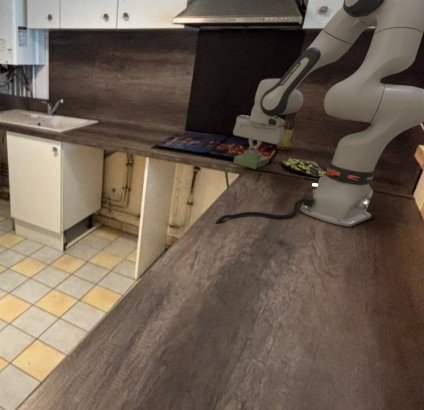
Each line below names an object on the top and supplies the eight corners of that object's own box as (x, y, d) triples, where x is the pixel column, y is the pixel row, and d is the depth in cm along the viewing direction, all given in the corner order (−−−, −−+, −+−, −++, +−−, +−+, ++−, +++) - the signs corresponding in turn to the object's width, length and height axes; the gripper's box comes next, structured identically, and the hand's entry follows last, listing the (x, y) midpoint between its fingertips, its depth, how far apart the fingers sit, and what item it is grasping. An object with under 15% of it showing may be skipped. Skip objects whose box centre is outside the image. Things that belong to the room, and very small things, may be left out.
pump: (255, 156, 155) (256, 151, 154) (246, 153, 158) (247, 149, 157) (258, 154, 158) (260, 150, 157) (250, 152, 160) (251, 148, 160)
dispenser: (255, 169, 153) (258, 157, 150) (233, 162, 159) (235, 152, 157) (266, 164, 160) (269, 153, 158) (245, 158, 167) (247, 148, 165)
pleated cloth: (276, 162, 167) (284, 149, 165) (311, 177, 164) (319, 164, 162) (286, 168, 148) (294, 153, 146) (325, 184, 145) (335, 170, 143)
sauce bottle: (290, 151, 185) (302, 112, 177) (277, 150, 186) (288, 111, 178) (286, 148, 191) (297, 110, 183) (274, 146, 192) (284, 109, 184)
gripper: (234, 114, 156) (227, 145, 162) (283, 123, 143) (273, 156, 148) (241, 113, 160) (233, 143, 166) (289, 121, 147) (279, 154, 152)
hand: (253, 149), depth 157 cm, fingers closed, pressing on pump
